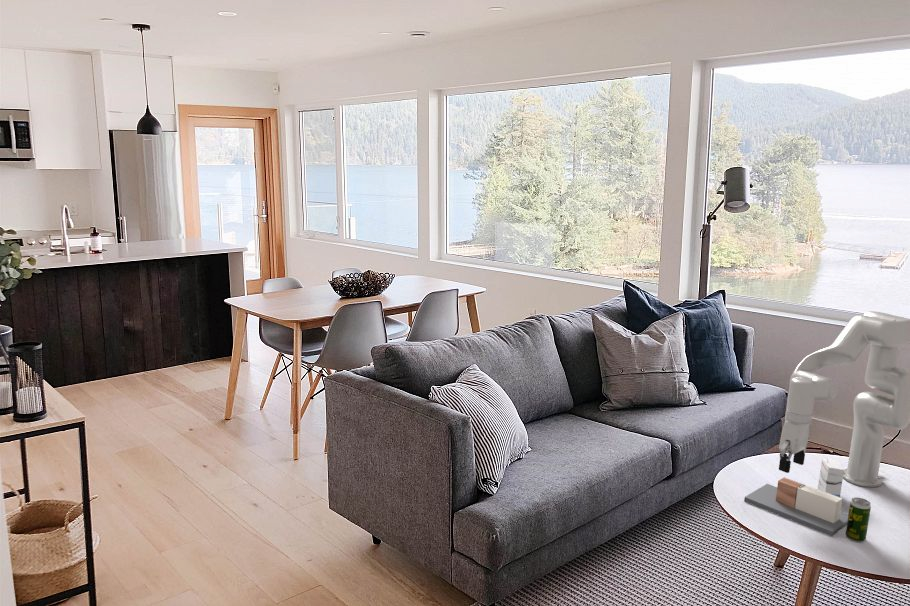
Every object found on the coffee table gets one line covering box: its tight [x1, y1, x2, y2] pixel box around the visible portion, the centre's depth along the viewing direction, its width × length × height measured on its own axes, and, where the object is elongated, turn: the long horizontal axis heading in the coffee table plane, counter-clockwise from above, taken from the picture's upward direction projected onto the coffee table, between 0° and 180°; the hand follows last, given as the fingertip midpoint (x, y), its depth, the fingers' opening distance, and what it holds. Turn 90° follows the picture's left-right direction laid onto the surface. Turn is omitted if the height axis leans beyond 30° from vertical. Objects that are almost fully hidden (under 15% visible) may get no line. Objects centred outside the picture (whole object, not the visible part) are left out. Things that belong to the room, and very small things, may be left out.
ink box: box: [817, 457, 845, 498], centre depth 245 cm, size 8×5×12 cm, turn 168°
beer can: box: [845, 497, 872, 544], centre depth 219 cm, size 5×5×12 cm
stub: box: [776, 477, 803, 508], centre depth 237 cm, size 4×6×7 cm, turn 41°
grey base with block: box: [743, 483, 849, 537], centre depth 235 cm, size 15×28×9 cm, turn 41°
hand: (791, 467), depth 235 cm, fingers open, 9 cm apart
